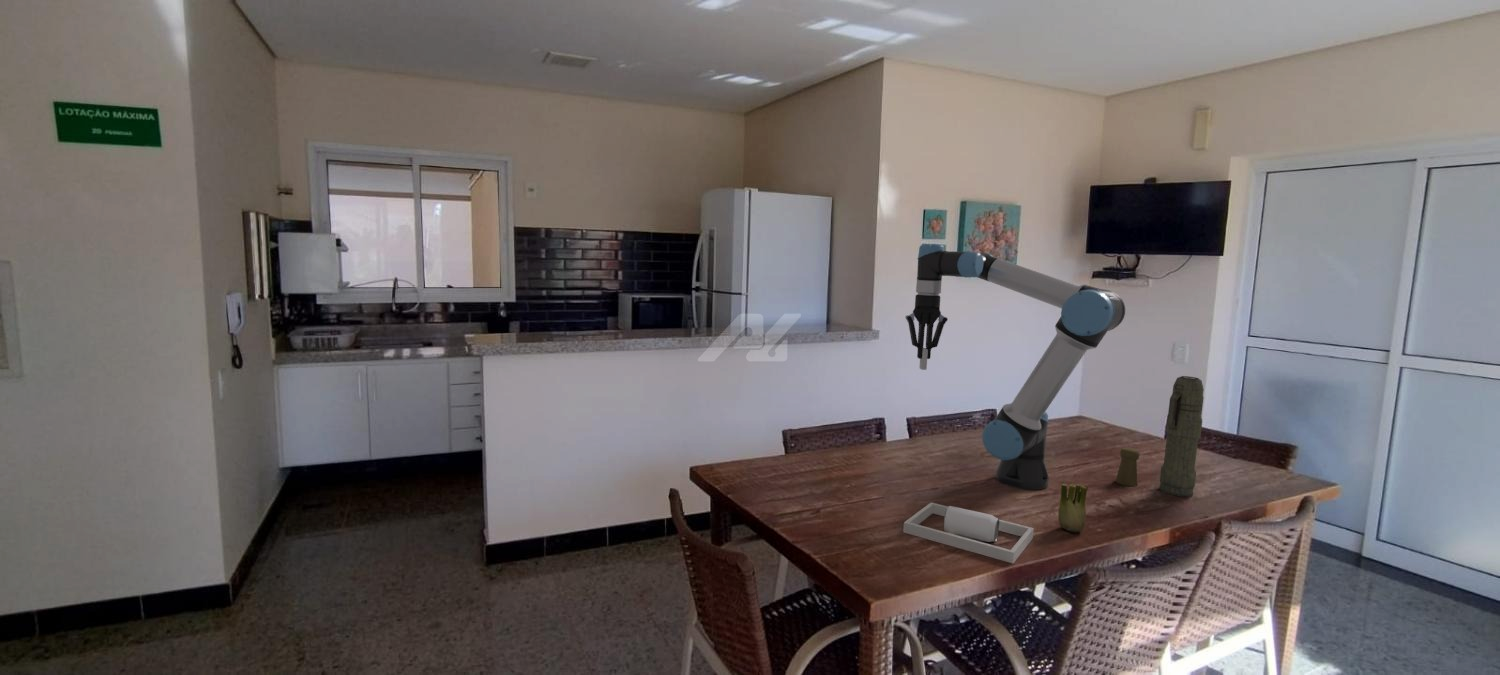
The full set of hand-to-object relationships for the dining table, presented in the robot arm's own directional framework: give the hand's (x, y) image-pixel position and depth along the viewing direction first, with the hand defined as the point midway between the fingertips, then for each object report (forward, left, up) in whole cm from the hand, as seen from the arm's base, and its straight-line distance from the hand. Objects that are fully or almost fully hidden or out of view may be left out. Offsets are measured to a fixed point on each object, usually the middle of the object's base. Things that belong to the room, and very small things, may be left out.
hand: (922, 368), depth 213 cm
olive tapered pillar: (-64, +8, -33) cm, 72 cm away
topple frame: (+1, +52, -32) cm, 61 cm away
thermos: (-75, +15, -33) cm, 83 cm away
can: (+6, +50, -29) cm, 58 cm away
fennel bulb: (-27, +47, -33) cm, 63 cm away
